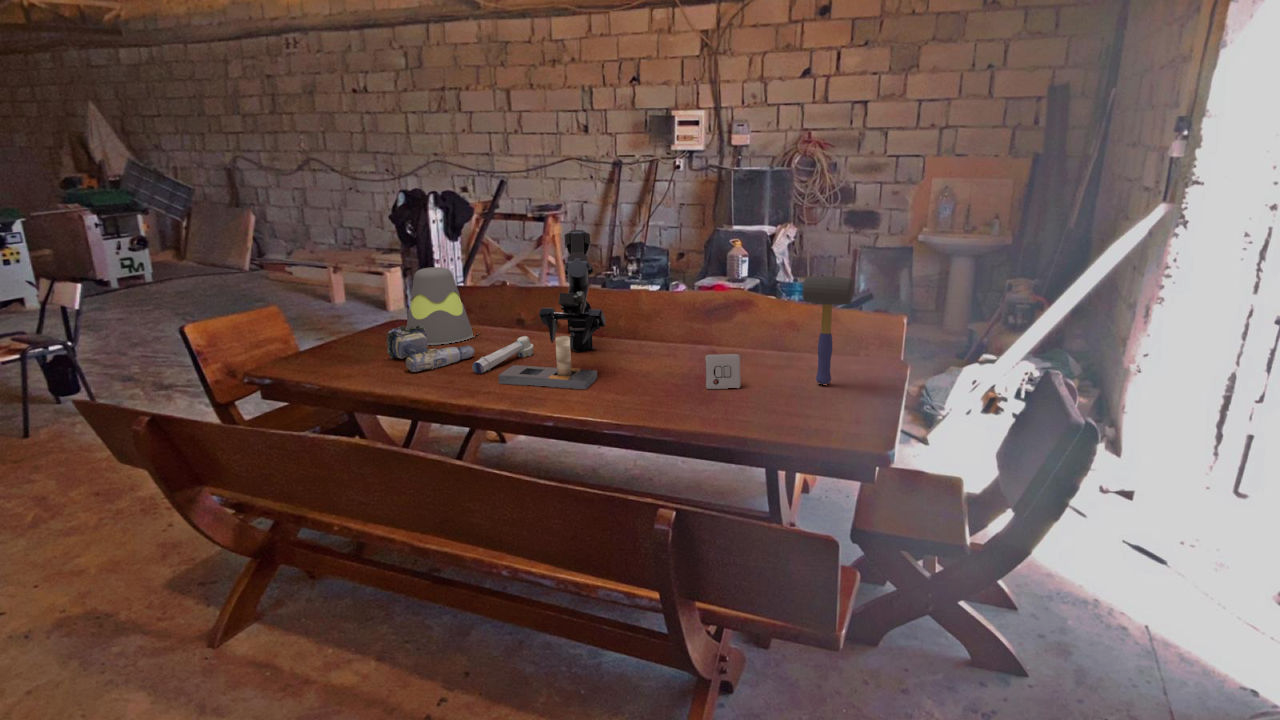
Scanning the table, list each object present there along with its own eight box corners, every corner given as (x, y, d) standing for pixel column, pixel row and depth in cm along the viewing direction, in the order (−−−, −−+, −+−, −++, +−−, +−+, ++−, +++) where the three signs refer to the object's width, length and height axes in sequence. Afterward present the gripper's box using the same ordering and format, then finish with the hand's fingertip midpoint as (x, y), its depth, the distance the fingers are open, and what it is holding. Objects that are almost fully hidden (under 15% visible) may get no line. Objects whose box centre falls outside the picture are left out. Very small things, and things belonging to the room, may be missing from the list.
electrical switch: (706, 390, 203) (706, 356, 201) (704, 385, 208) (704, 353, 206) (740, 389, 203) (741, 355, 201) (738, 385, 208) (738, 352, 206)
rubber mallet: (848, 383, 205) (855, 275, 197) (844, 391, 199) (850, 279, 190) (803, 378, 210) (807, 272, 202) (797, 386, 204) (801, 277, 195)
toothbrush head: (469, 360, 221) (521, 331, 241) (473, 381, 224) (525, 350, 243) (482, 363, 219) (534, 332, 238) (486, 383, 221) (537, 352, 241)
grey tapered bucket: (396, 331, 274) (388, 266, 268) (473, 323, 283) (468, 260, 277) (400, 349, 249) (392, 278, 243) (484, 340, 258) (479, 271, 252)
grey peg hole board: (499, 383, 212) (498, 374, 211) (514, 373, 221) (513, 364, 220) (585, 389, 205) (585, 379, 204) (597, 378, 214) (596, 369, 213)
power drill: (376, 363, 235) (372, 329, 232) (438, 348, 252) (435, 317, 249) (416, 376, 221) (412, 340, 218) (478, 359, 238) (475, 326, 235)
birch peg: (568, 379, 214) (566, 335, 211) (574, 382, 211) (572, 338, 207) (555, 381, 212) (553, 337, 209) (561, 385, 209) (558, 340, 205)
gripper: (538, 280, 214) (527, 326, 207) (601, 281, 210) (592, 329, 203) (549, 301, 224) (539, 346, 217) (609, 302, 220) (601, 349, 213)
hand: (567, 342), depth 212 cm, fingers open, 9 cm apart
